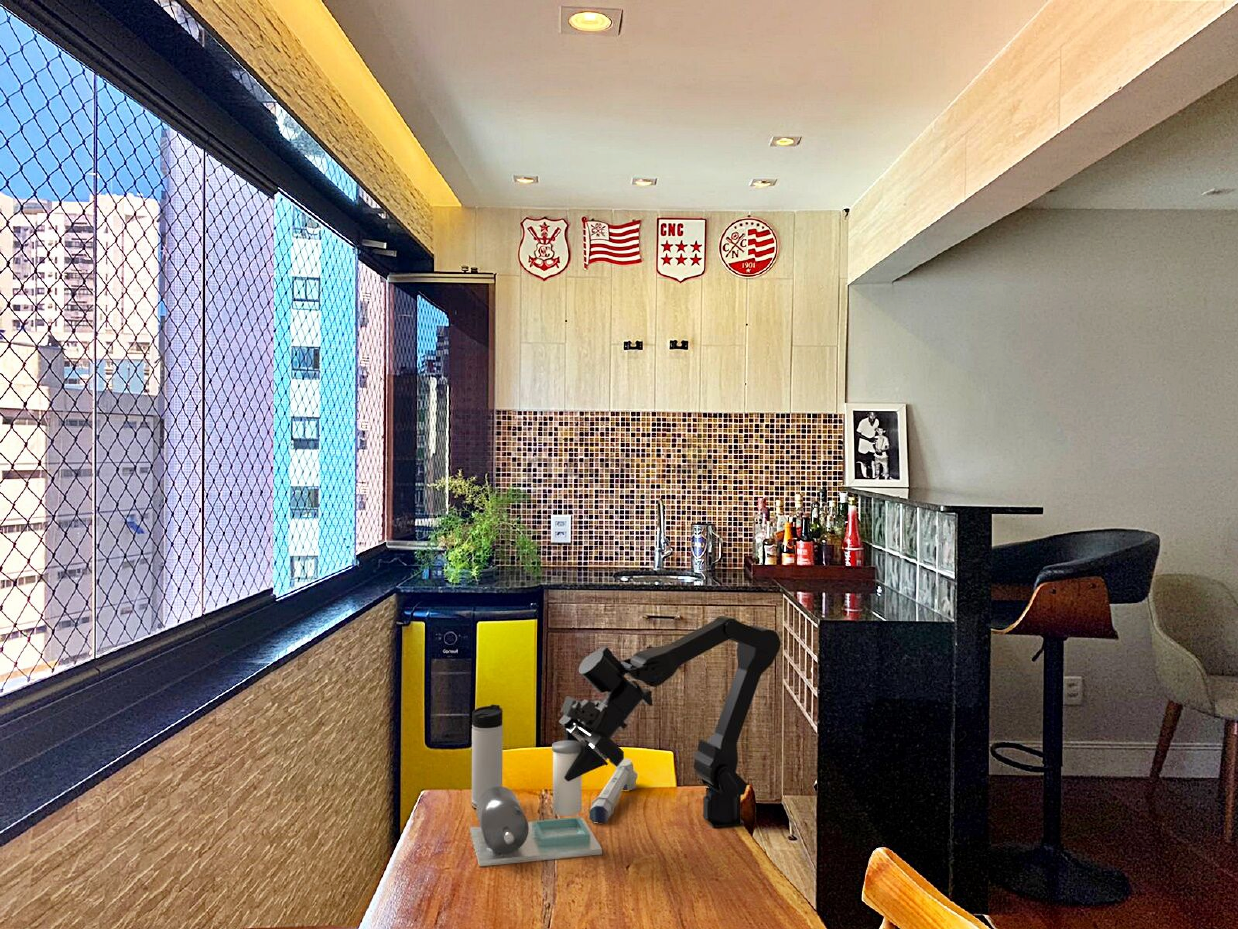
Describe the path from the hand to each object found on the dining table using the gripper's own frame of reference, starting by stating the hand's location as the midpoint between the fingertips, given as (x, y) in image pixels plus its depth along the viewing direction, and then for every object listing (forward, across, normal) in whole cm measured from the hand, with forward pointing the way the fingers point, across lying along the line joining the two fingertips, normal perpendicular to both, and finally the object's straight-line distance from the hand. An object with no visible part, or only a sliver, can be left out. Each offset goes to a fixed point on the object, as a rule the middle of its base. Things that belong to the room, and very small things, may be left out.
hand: (560, 775), depth 173 cm
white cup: (+4, 0, +6) cm, 7 cm away
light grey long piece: (-4, -18, +23) cm, 30 cm away
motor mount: (+12, -4, +7) cm, 14 cm away
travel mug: (+14, -27, +6) cm, 31 cm away
